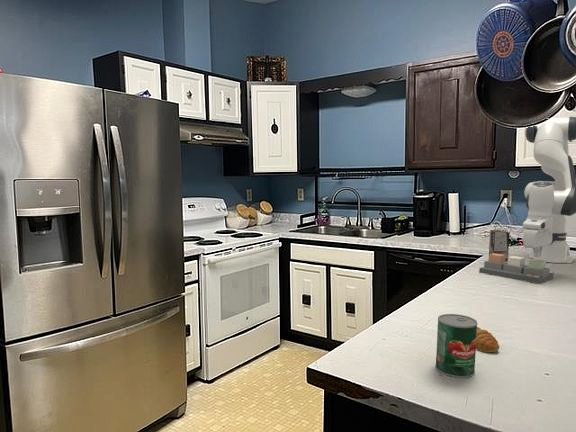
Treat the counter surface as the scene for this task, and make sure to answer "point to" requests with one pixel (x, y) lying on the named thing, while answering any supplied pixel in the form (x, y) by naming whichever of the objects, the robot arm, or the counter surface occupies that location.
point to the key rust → (497, 258)
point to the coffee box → (499, 242)
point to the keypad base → (516, 272)
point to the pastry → (486, 341)
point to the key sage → (537, 264)
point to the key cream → (516, 261)
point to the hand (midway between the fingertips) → (537, 257)
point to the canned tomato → (456, 345)
